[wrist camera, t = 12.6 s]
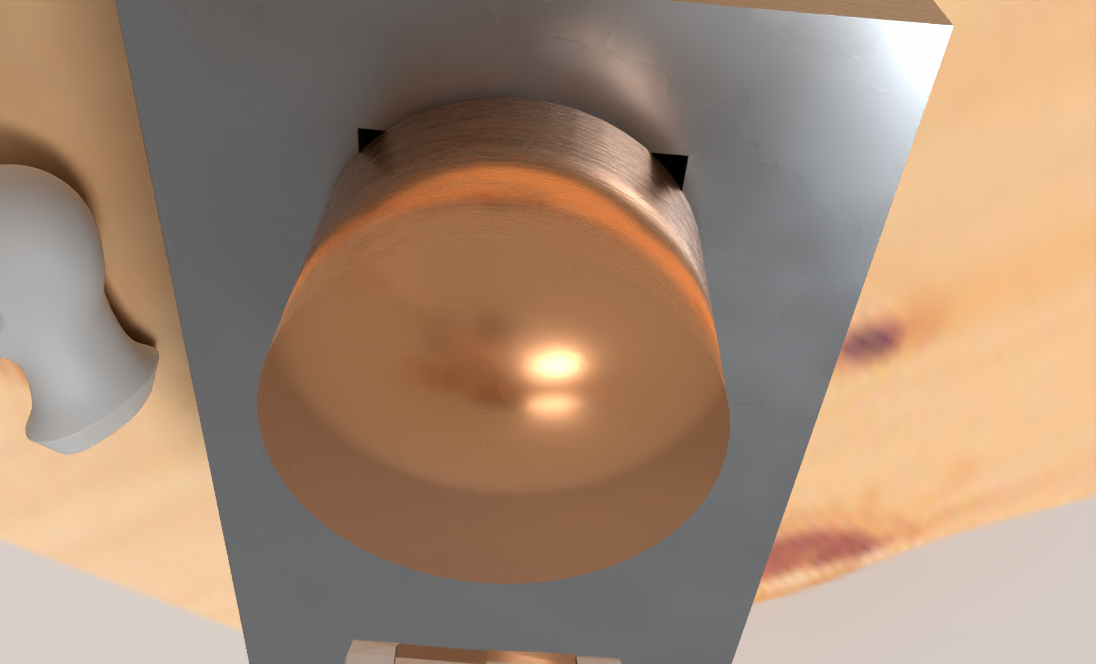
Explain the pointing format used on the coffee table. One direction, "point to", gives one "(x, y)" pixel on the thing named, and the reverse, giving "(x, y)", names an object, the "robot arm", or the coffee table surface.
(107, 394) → the mannequin head
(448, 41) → the block
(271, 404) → the pin
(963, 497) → the coffee table surface
